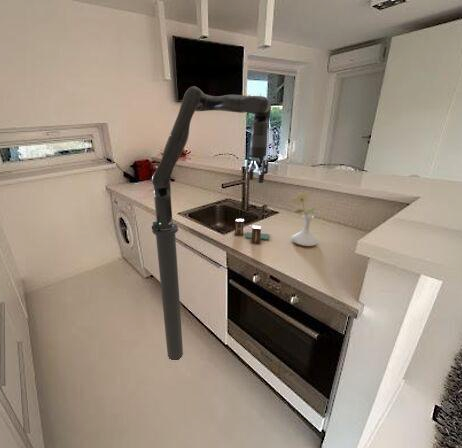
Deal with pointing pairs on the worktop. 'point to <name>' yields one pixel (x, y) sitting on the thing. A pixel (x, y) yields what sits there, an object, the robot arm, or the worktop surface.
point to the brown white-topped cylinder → (256, 234)
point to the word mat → (262, 237)
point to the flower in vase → (304, 236)
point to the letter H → (239, 227)
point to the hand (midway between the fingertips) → (255, 181)
